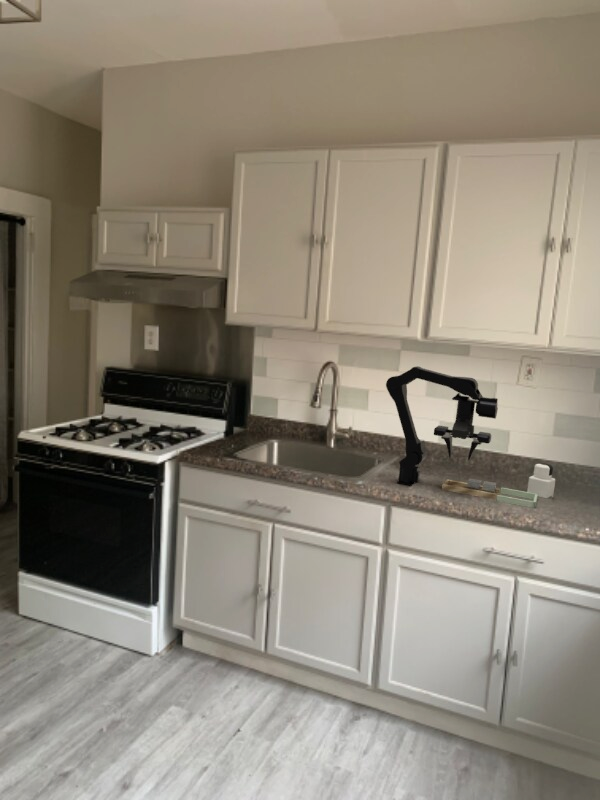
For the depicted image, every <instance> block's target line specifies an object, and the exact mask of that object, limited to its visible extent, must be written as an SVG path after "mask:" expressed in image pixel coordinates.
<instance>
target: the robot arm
mask: <svg viewBox="0 0 600 800" xmlns="http://www.w3.org/2000/svg"><path fill="white" fill-rule="evenodd" d="M416 379H419V380H422V381H425V382H426V381H427V382H428V383H433V384H437V385H440V386H444V387H448V388H449V389H451V390H454V391H455V392H457V393H456V395H455V396H453V397H452V398H451V399H452V400H453V401H457V405H456V406H457V407H456V413H455V421H454V423H453V427H452V429H449V426H446V425H437V426H435V428H434V429H433V436H439V437H441V439H443V440H444V442H445V444H446V448H447V454H448V457H449V458H451V457H452V452H453V438H454V439H462V440H466V439H472V441H471V445H470V449H469V453H468V455H467V457H468V458H467V461H470V460H471V458H472V456H473V454H474V451H475V450H476V449H477V447H478V446H480V445H482V444H490V443H491V442H492V434H491V433H490V432H484V431H479V432H478V433H475V425H474V424H473V423H474V414H476V415H478V417H481V418H486V419H487V418H489V419H495V420H496V418H497V414H498V409H499V407H498V401H499V399H498V398H497V397H485V396H483V395H482V393H481V392H480V389H479V383H478V381H477V380H476V379H475V378H473V377H466V376H455V375H454V376H452V375H450V374H445V373H442V372H437V371H434V370H429V369H426V368H425V367H424V368H423V367H421V366H414V367H411V368H410V369H409V370H407V371H405V372H404V373H401V374H400V375H394V376H390V377H389V378H388V379H387V380H386V383H385V388H386V390H387V392H388V394H389V396H390V397H391V399H392V401H393V402H394V403H395V407H396V411H397V415H398V418H399V421H400V425H401V428H402V432H403V436H404V439H405V449H404V450H405V457H404V458H402V459H401V460H400V461H399V473H398V480H396V483H397V484H402V485H406V486H413V485H415V483H417V484H418V483H419V482H420V475H421V471H419V470H420V466H419V465H420V464H421V463H422V462H423V461H424V460H425V459H426V457H427V452H428V449H427V448H426V443H425V442H426V441H425V440H420V439H419V437H418V434H417V431H416V427H415V423H414V421H413V417H412V412H411V410H410V406H409V403H408V388H407V385H409V384H410V383H412V382H414V381H415V380H416ZM461 394H462V395H461ZM470 398H471V399H470Z"/></svg>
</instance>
